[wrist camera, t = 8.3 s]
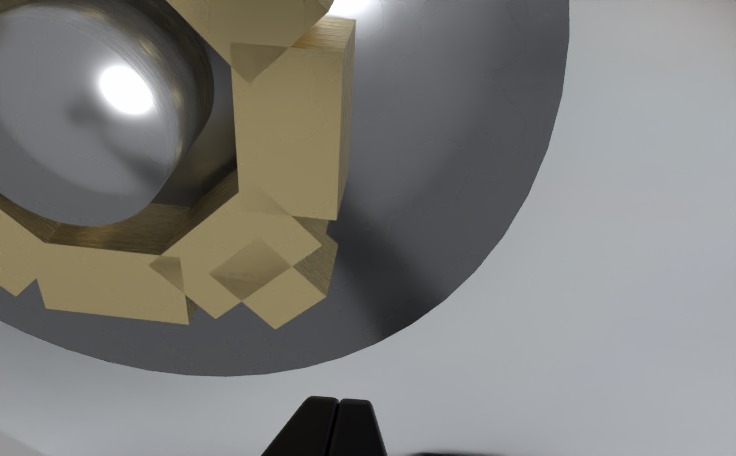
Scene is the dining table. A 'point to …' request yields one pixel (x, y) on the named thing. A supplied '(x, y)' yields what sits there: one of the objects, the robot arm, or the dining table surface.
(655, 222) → the dining table surface
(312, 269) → the gold block ring
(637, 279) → the dining table surface
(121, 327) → the grey round shallow disc
